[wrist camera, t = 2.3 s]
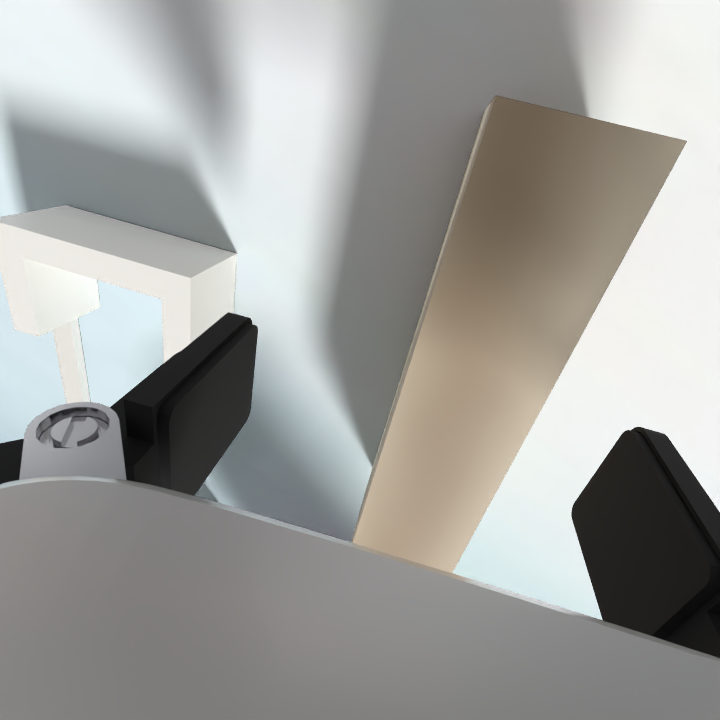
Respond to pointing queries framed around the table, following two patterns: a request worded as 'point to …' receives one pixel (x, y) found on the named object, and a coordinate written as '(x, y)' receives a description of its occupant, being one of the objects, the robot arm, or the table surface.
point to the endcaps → (106, 279)
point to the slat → (504, 315)
